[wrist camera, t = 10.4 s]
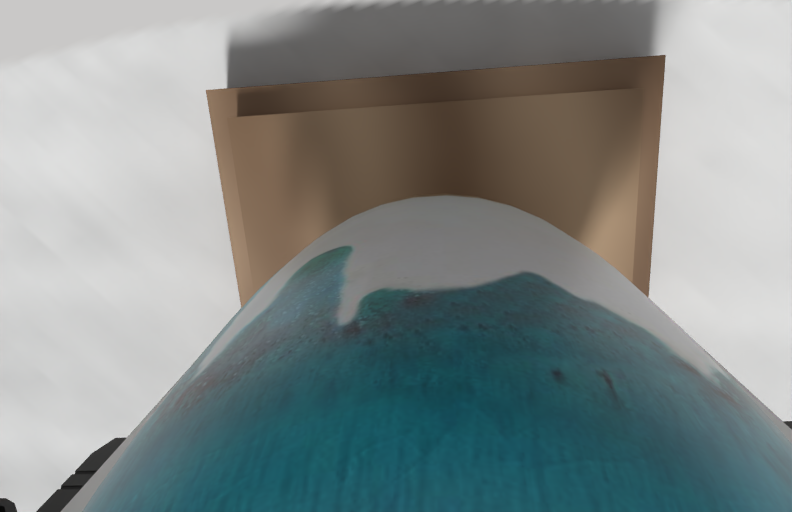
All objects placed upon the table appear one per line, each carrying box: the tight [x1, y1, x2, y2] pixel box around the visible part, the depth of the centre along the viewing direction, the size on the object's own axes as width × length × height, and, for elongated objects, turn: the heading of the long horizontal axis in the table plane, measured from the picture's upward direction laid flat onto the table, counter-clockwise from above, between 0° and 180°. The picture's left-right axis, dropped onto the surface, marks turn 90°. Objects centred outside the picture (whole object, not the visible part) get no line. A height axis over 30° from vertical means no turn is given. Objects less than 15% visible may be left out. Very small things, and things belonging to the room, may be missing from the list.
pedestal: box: [206, 55, 665, 308], centre depth 21 cm, size 16×16×3 cm
